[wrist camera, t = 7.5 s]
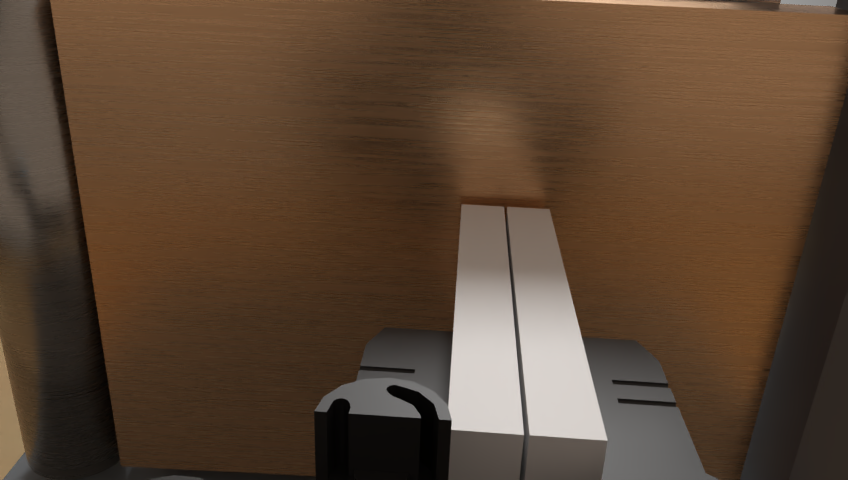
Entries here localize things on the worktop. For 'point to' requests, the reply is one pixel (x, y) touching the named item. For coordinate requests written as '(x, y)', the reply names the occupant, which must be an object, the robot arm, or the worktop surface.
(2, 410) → the worktop surface
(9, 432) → the worktop surface
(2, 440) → the worktop surface
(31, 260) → the bar
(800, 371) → the cooler board
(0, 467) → the worktop surface
